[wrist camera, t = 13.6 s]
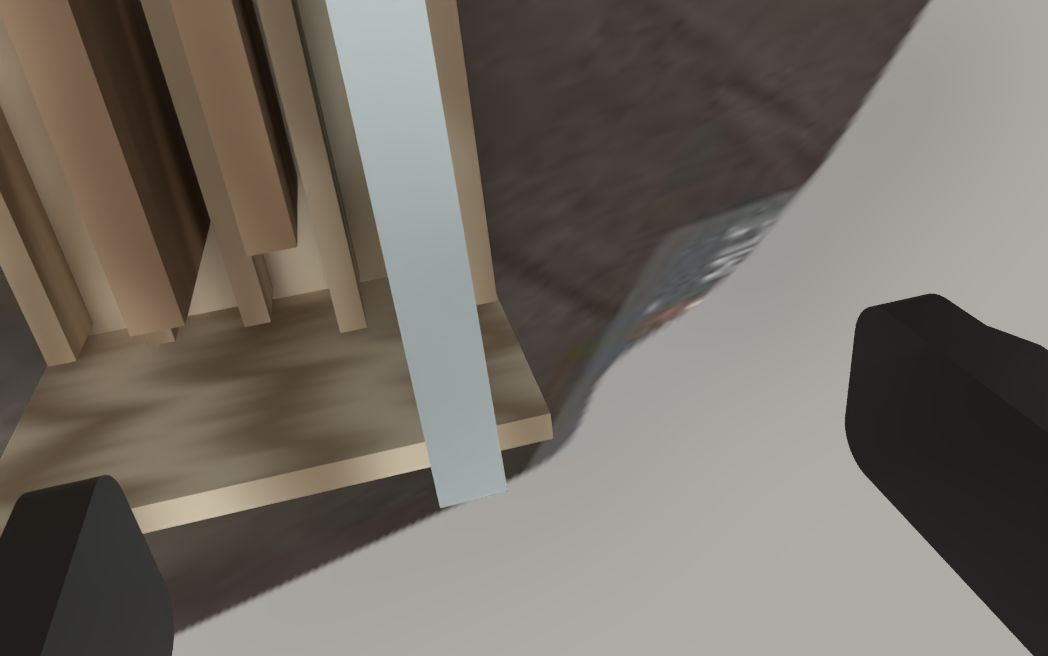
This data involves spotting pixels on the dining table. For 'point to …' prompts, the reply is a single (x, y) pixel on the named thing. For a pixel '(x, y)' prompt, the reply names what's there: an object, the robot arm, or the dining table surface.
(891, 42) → the dining table surface
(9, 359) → the dining table surface
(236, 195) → the offcut
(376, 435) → the rack
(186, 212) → the offcut
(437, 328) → the blue-grey flat rectangular block
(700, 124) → the dining table surface
